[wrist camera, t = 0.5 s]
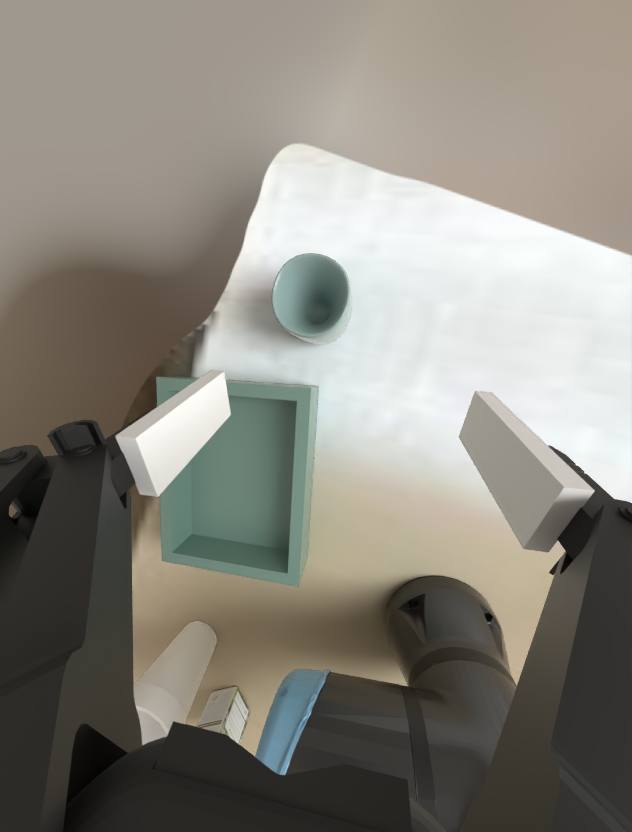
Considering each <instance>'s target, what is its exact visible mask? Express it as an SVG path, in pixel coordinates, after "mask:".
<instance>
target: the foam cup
mask: <svg viewBox="0 0 632 832" xmlns="http://www.w3.org/2000/svg"><path fill="white" fill-rule="evenodd" d="M216 644H217V638H216V634H215V632H214V631H213V629H212V628H211V627H210V626H208V625H207V624H206V623H203V622H200V621H193V622H190V623H189V624H188V625H186V626H185V628H184V629H183V630H182V631H181V632H180V633H179V634H178V635H177V636H176V638H175V639H174V640H173V641H172V642H171V643H170V644H169V645H168V647H167V648H166V649H165V650H164V651H163V652H162V653H161V655H160V656H159V657H158V658H157V659H156V660H155V661H154V663H153V664H152V665H151V666H150V667H149V668H148V669H147V671H146V672H145V673H144V674H143V675H142V676H141V677H140V679H139V680H138V681H137V682H136V683H135V684H134V685H133V690H134V700H135V705H136V709H137V712H138V716H139V720H140V726H141V734H142V745H144V744H146V743H148V742H151V741H154V740H157V739H160V738H162V737H167V735H168V733H169V730H170V728H171V725H172V723H173V721H174V722H178V723H182V724H186V719H187V717H188V714H189V712H190V709H191V707H192V704H193V702H194V699H195V697H196V694H197V692H198V689H199V687H200V684H201V682H202V679H203V677H204V674H205V672H206V669H207V667H208V664H209V662H210V659H211V656H212V654H213V651H214V649H215V646H216Z"/></svg>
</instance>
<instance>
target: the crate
mask: <svg viewBox="0 0 632 832" xmlns="http://www.w3.org/2000/svg"><path fill="white" fill-rule="evenodd" d="M198 379H199V378H196V377H156V384H157V407H158V406H160V405H161V404H163V403H164V402H166V401H167V400H168V399H170V398H171V397H173V396H174V395H176V394H177V393H179V392H180V391H182V390H183V389H185V388H186V387H188V386H189V385H190V384H192V383H193V382H195V381H196V380H198ZM226 386H227V393H228V399H229V405H230V412H231V415H230V416H229V417H228V419H227V420H226V421H225V422H224V423H223V424H222V425H221V426H220V428H219V429H218V430H217V431H216V432H215V433H214V434H213V435H212V437H211V438H210V439H209V440H208V441H207V442H206V443H205V445H204V446H203V447H202V448H201V449H200V450H199V451H198V452H197V454H196V455H195V456H194V457H193V458H192V459H191V460H190V461H189V463H188V464H187V465H186V466H185V467H184V468H183V469H182V470H181V472H180V473H179V474H178V475H177V476H176V477H175V478H174V479H173V481H172V482H171V483H170V484H169V485H168V486H167V487H166V488H165V490H164V491H163V492H162V493H161V494H160V515H161V548H162V561H165V562H170V563H175V564H181V565H186V566H191V567H196V568H202V569H207V570H212V571H218V572H223V573H228V574H234V575H239V576H244V577H250V578H255V579H260V580H265V581H271V582H276V583H281V584H287V585H292V586H297V587H299V585H300V581H301V578H302V574H303V571H304V567H305V564H306V560H307V557H308V542H309V527H310V512H311V497H312V482H313V467H314V452H315V437H316V422H317V407H318V392H319V386H306V385H292V384H278V383H264V382H251V381H237V380H226Z"/></svg>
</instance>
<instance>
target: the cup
mask: <svg viewBox="0 0 632 832" xmlns="http://www.w3.org/2000/svg"><path fill="white" fill-rule="evenodd" d="M272 306H273V311H274V314H275V316H276V319H277V320H278V322H279V323H280V324H281V326H282V327H283V328H285V329H286V330H287V331H288V332H289V333H291V334H292V335H294V336H296V337H297V338H299V339H301V340H303V341H305V342H308V343H312V344H318V345H319V344H328V343H332V342H334V341H336V340H337V339H338V338H340V337H341V335H342V334H343V333H344V332H345V330H346V328H347V326H348V324H349V321H350V317H351V311H352V294H351V287H350V282H349V279H348V276H347V274H346V272H345V271H344V269H343V268H342V266H341V265H340V264H338V263H337V262H336V261H335V260H333V259H331V258H329V257H327V256H324V255H321V254H314V253H308V254H301V255H298V256H295V257H294V258H292V259H290V260H289V261H288V262H286V263H285V264H284V265H283V267H282V268H281V270H280V271H279V273H278V275H277V277H276V279H275V282H274V286H273V291H272Z"/></svg>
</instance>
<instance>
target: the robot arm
mask: <svg viewBox="0 0 632 832" xmlns="http://www.w3.org/2000/svg"><path fill="white" fill-rule="evenodd" d="M230 415H231V412H230V405H229V399H228V393H227V386H226V380H225V373H224V371H213V370H211V371H209V372H208V373H207V374H205V375H204V376H202V377H201V378H199V379H198V380H196V381H195V382H193V383H192V384H190V385H189V386H188V387H186V388H185V389H183V390H182V391H180V392H179V393H177V394H176V395H174V396H173V397H171V398H170V399H168V400H167V401H166V402H164V403H163V404H161V405H160V406H158V407H157V408H155V409H153V410H151V411H149V412H146V413H144V414H143V415H141V416H140V417H138V418H137V419H136V420H134V421H132V422H131V423H129V425H126V426H125V427H123V428H122V429H120V430H119V431H117V432H116V433H115V434H113V435H111V436H110V437H109V438H107V439H106V440H105V439H104V437H103V434H102V432H101V430H100V428H99V426H98V423H97V422H96V421H93V420H81V421H75V422H72V423H68V424H65V425H62V426H60V427H57V428H56V429H54V430H52V431H51V432H50V433H49V434H48V438H49V439H50V441H51V443H52V445H53V446H54V448H55V450H56V452H57V453H58V455H57V456H45V457H44V456H43V455H42V453H41V451H40V450H39V448H38V447H37V446H34V445H24V446H19V447H12V448H10V449H6V450H3V451H2V452H0V832H632V503H630V502H627V501H622V500H616V499H613V498H612V497H611V496H610V495H609V494H608V493H607V492H606V491H605V490H604V489H602V488H601V487H600V486H599V485H598V484H597V483H596V482H595V481H594V480H593V479H592V478H590V477H589V476H588V475H587V474H584V471H583V470H582V469H581V468H579V467H578V466H576V465H575V463H574V462H573V461H572V460H571V459H570V458H569V457H567V456H566V455H565V454H564V453H562V452H560V451H559V450H557V449H555V448H553V447H552V446H547V445H546V444H545V443H544V442H543V441H542V440H541V439H540V438H539V437H538V436H537V435H536V434H535V433H534V432H533V431H532V430H531V429H530V428H529V427H527V426H526V425H525V424H524V423H523V422H522V421H521V420H520V419H519V418H518V417H517V416H516V415H515V414H514V413H513V412H512V411H511V410H510V409H509V408H508V407H506V406H505V405H504V404H503V403H502V402H501V401H500V400H499V399H498V398H497V397H496V396H495V395H494V394H493V393H492V392H482V391H475V393H474V395H473V398H472V401H471V404H470V407H469V410H468V412H467V415H466V418H465V421H464V424H463V427H462V429H461V432H460V435H459V438H460V440H461V442H462V444H463V445H464V447H465V449H466V450H467V452H468V454H469V456H470V457H471V459H472V461H473V463H474V464H475V466H476V468H477V470H478V471H479V473H480V475H481V476H482V478H483V480H484V482H485V483H486V485H487V487H488V489H489V490H490V492H491V494H492V496H493V497H494V499H495V501H496V502H497V504H498V506H499V508H500V509H501V511H502V513H503V515H504V516H505V518H506V520H507V522H508V523H509V525H510V527H511V528H512V530H513V532H514V534H515V535H516V537H517V539H518V541H519V542H520V544H521V546H522V548H523V549H528V550H536V551H543V552H549V551H550V550H551V548H552V547H553V546H554V544H555V543H556V542H557V540H558V541H559V542H560V543H561V545H562V546H563V548H564V549H565V550H566V552H565V553H564V554H563V556H562V557H561V558H560V559H559V561H558V562H557V563H556V564H555V565H554V567H553V568H552V569H551V570H550V572H549V573H550V574H552V575H554V574H555V575H554V578H553V581H552V584H551V587H550V590H549V593H548V596H547V599H546V602H545V605H544V608H543V611H542V614H541V617H540V620H539V622H538V625H537V628H536V631H535V634H534V637H533V640H532V643H531V646H530V649H529V652H528V655H527V658H526V661H525V664H524V667H523V670H522V673H521V676H520V679H519V682H518V685H517V686H516V684H515V682H514V680H513V678H512V676H511V673H510V668H509V663H508V658H507V652H506V647H505V642H504V637H503V632H502V629H501V626H500V624H499V621H498V619H497V617H496V616H495V614H494V612H493V610H492V609H491V607H490V605H489V604H488V602H487V601H486V599H485V598H484V597H483V596H482V595H481V594H480V593H479V592H478V591H476V590H475V589H474V588H472V587H471V586H469V585H467V584H465V583H463V582H461V581H458V580H455V579H452V578H447V577H439V576H432V577H423V578H419V579H416V580H413V581H411V582H409V583H407V584H405V585H403V586H402V587H401V588H400V589H398V590H397V591H396V592H395V594H394V595H393V596H392V598H391V599H390V601H389V603H388V606H387V610H386V627H387V635H388V640H389V643H390V646H391V649H392V651H393V653H394V656H395V658H396V660H397V662H398V665H399V667H400V669H401V671H402V673H403V676H404V678H405V680H406V682H407V685H408V686H402V685H399V684H393V683H388V682H382V681H377V680H371V679H366V678H360V677H355V676H349V675H344V674H338V673H333V672H331V671H330V670H327V669H326V670H325V671H316V670H308V669H296V670H293V671H292V672H290V673H289V674H288V675H287V676H286V677H285V679H284V680H283V681H282V683H281V685H280V687H279V689H278V691H277V693H276V695H275V698H274V700H273V703H272V705H271V708H270V711H269V714H268V716H267V719H266V722H265V725H264V729H263V732H262V735H261V738H260V742H259V745H258V749H257V752H256V756H253V755H252V754H251V753H249V752H248V751H247V750H246V749H244V748H243V747H242V746H240V745H239V744H238V743H237V742H235V741H234V740H233V739H231V738H230V737H229V736H228V735H226V734H223V733H219V732H215V731H211V730H207V729H203V728H198V727H194V726H190V725H186V724H182V723H178V722H174V721H173V723H172V725H171V728H170V730H169V733H168V735H167V737H162V738H160V739H157V740H154V741H151V742H148V743H146V744H144V745H142V734H141V726H140V720H139V716H138V712H137V709H136V705H135V700H134V690H133V623H132V549H131V496H130V494H129V492H128V489H129V488H130V487H132V486H133V485H134V484H136V486H137V489H138V491H139V493H140V495H147V496H154V497H158V496H159V495H160V494H161V493H162V492H163V491H164V490H165V488H166V487H167V486H168V485H169V484H170V483H171V482H172V481H173V479H174V478H175V477H176V476H177V475H178V474H179V473H180V472H181V470H182V469H183V468H184V467H185V466H186V465H187V464H188V463H189V461H190V460H191V459H192V458H193V457H194V456H195V455H196V454H197V452H198V451H199V450H200V449H201V448H202V447H203V446H204V445H205V443H206V442H207V441H208V440H209V439H210V438H211V437H212V435H213V434H214V433H215V432H216V431H217V430H218V429H219V428H220V426H221V425H222V424H223V423H224V422H225V421H226V420H227V419H228V417H229V416H230ZM10 504H12V505H13V506H14V508H15V509H16V510H17V512H16V513H15V515H14V516H13V517H12V518H11V517H10V516H9V506H10Z"/></svg>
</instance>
